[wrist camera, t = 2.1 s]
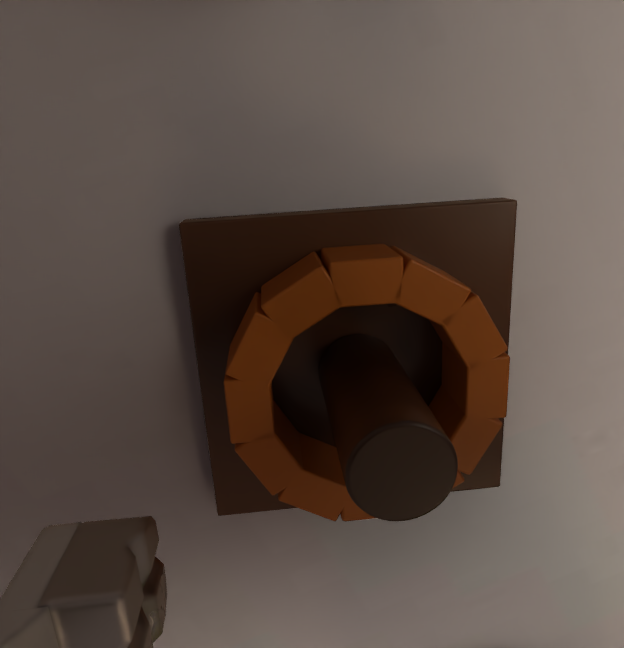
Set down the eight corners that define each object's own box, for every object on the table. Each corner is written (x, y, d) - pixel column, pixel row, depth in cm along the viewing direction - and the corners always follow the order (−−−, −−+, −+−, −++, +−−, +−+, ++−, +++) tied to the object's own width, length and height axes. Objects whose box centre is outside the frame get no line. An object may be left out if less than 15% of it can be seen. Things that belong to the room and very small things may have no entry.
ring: (216, 255, 12) (209, 271, 11) (484, 235, 13) (517, 248, 11) (244, 489, 14) (241, 534, 13) (474, 466, 15) (501, 506, 13)
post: (183, 218, 13) (128, 262, 8) (503, 197, 13) (657, 224, 8) (219, 499, 15) (196, 677, 10) (489, 471, 16) (600, 627, 11)
